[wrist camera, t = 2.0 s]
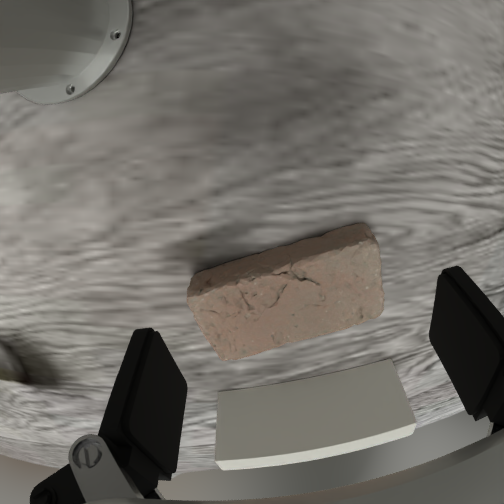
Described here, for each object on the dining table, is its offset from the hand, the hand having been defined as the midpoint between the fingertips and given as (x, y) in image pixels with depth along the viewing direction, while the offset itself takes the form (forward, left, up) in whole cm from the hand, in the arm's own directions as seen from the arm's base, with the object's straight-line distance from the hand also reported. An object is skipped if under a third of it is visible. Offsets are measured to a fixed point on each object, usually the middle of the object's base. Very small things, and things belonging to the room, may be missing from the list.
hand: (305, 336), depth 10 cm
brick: (+10, 0, -18) cm, 20 cm away
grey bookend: (+29, 0, -17) cm, 33 cm away
